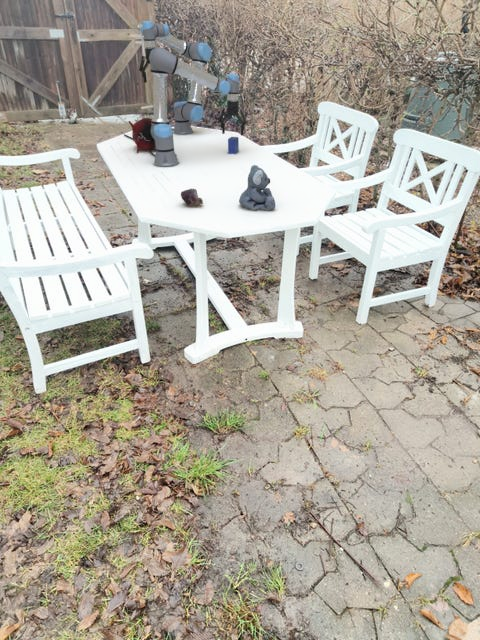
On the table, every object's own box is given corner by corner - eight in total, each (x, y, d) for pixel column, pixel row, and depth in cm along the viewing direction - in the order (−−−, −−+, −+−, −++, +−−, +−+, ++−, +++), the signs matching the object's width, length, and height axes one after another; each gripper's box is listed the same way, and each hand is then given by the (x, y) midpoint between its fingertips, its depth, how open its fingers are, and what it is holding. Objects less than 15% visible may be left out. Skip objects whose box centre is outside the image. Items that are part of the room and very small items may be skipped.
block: (235, 154, 313) (235, 139, 308) (228, 153, 315) (227, 139, 309) (238, 151, 319) (238, 137, 314) (231, 150, 320) (231, 136, 315)
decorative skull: (132, 124, 330) (125, 120, 306) (163, 117, 329) (158, 113, 306) (140, 154, 337) (134, 153, 313) (170, 147, 336) (166, 145, 312)
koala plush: (276, 211, 223) (277, 171, 212) (240, 212, 222) (240, 172, 211) (271, 199, 237) (272, 161, 226) (237, 200, 236) (237, 162, 225)
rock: (196, 202, 238) (178, 205, 233) (194, 185, 234) (176, 188, 230) (205, 205, 228) (187, 208, 224) (203, 188, 224) (185, 191, 220)
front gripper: (252, 100, 298) (251, 134, 310) (217, 98, 304) (217, 131, 316) (249, 102, 292) (248, 137, 304) (213, 100, 298) (213, 133, 310)
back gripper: (169, 47, 306) (172, 82, 318) (137, 47, 313) (141, 81, 325) (164, 48, 301) (167, 84, 313) (131, 48, 307) (135, 82, 319)
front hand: (232, 134), depth 310 cm, fingers open, 13 cm apart
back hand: (154, 82), depth 319 cm, fingers open, 13 cm apart
